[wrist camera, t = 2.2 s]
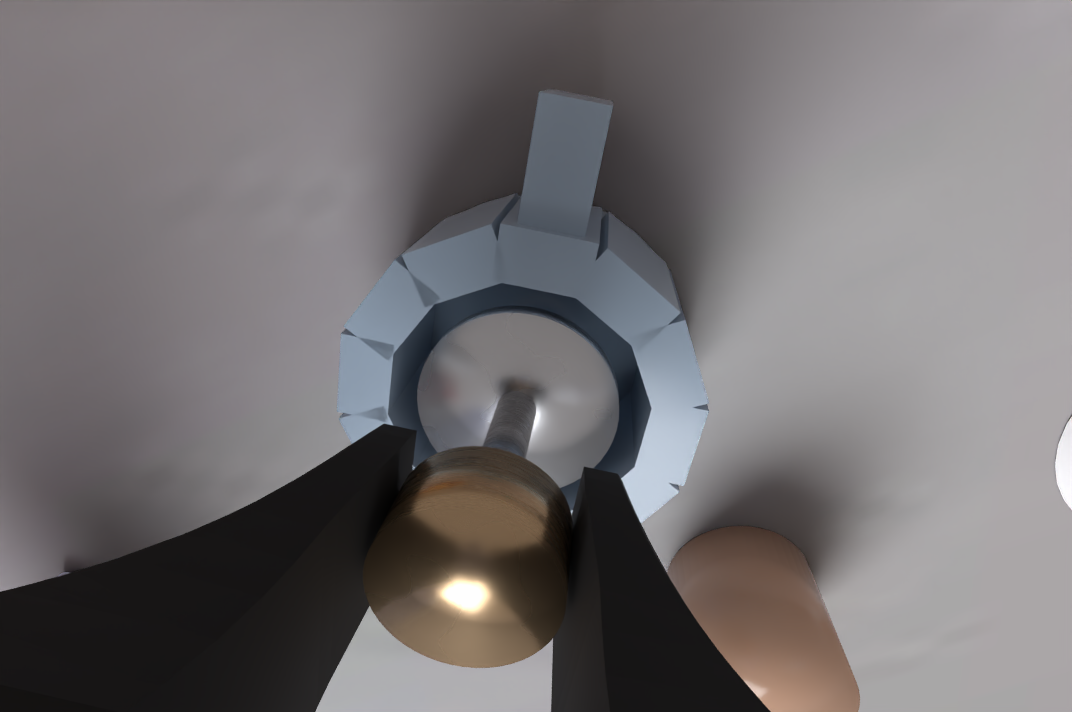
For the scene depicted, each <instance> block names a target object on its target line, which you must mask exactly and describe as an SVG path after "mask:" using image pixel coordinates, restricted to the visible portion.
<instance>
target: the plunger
mask: <svg viewBox="0 0 1072 712" xmlns="http://www.w3.org/2000/svg"><path fill="white" fill-rule="evenodd" d="M417 403H418V412H419V416H420V420H421V423H422V426H423V428H424V431H425V433H426V435H427V437H428V439H429V441H430V443H431V444H432V446H433V447H434V448H435V450H436V451H437V452H438V453H437V454H435V455H433V456H431V457H429V458H427V459H426V460H424V461H423V462H421V463H420V464H419V465H418V466H417V467H415V468H414V469H413V470H412V472H411V473H410V474H409V475H408V477H407V478H406V480H405V481H404V483H403V485H402V487H401V489H400V491H399V493H398V495H397V497H396V498H395V500H394V502H393V504H392V506H391V508H390V510H389V512H388V514H387V516H386V518H385V520H384V522H383V524H382V526H381V527H380V529H379V531H378V533H377V535H376V537H375V539H374V541H373V543H372V545H371V547H370V549H369V551H368V553H367V556H366V559H365V562H364V568H363V584H364V590H365V594H366V597H367V600H368V602H369V605H370V607H371V609H372V611H373V612H374V614H375V615H376V617H377V618H378V620H379V621H380V622H381V623H382V625H383V626H384V627H385V628H386V629H387V630H388V631H389V632H390V633H391V634H392V635H393V636H394V637H395V638H397V639H398V640H399V641H400V642H402V643H403V644H404V645H406V646H408V647H409V648H411V649H413V650H414V651H416V652H418V653H420V654H422V655H424V656H426V657H429V658H431V659H434V660H437V661H440V662H443V663H447V664H451V665H456V666H462V667H472V668H490V667H498V666H504V665H508V664H512V663H515V662H518V661H521V660H523V659H525V658H528V657H530V656H532V655H533V654H535V653H536V652H538V651H539V650H541V649H542V648H543V647H544V646H546V645H547V644H548V643H549V642H550V641H551V640H552V638H553V637H554V636H555V635H556V633H557V631H558V630H559V628H560V626H561V624H562V621H563V619H564V616H565V610H566V604H567V592H568V581H569V569H570V558H571V546H572V532H573V521H572V515H571V511H570V508H569V504H568V502H567V500H566V498H565V496H564V494H563V492H562V491H561V489H560V488H562V487H564V486H566V485H569V484H571V483H573V482H575V481H577V480H578V479H580V478H581V476H582V472H583V468H584V467H589V468H594V467H595V466H596V465H597V464H598V463H599V462H600V461H601V460H602V458H603V457H604V456H605V454H606V453H607V451H608V449H609V448H610V446H611V444H612V442H613V439H614V436H615V434H616V431H617V426H618V420H619V392H618V384H617V380H616V376H615V373H614V370H613V368H612V366H611V363H610V361H609V359H608V358H607V356H606V354H605V353H604V351H603V350H602V348H601V347H600V346H599V345H598V343H597V342H596V341H595V340H594V339H593V338H592V337H591V336H590V335H589V334H588V333H587V332H586V331H585V330H583V329H582V328H581V327H579V326H578V325H576V324H575V323H573V322H572V321H570V320H568V319H566V318H565V317H563V316H560V315H558V314H555V313H553V312H551V311H547V310H543V309H540V308H535V307H528V306H501V307H494V308H490V309H486V310H482V311H480V312H477V313H475V314H472V315H470V316H468V317H466V318H465V319H463V320H461V321H460V322H458V323H457V324H456V325H454V326H453V327H452V328H450V329H449V330H448V331H447V332H446V333H445V334H444V335H443V336H442V338H441V339H440V340H439V342H438V343H437V344H436V346H435V347H434V349H433V350H432V352H431V353H430V355H429V356H428V358H427V360H426V362H425V364H424V366H423V369H422V372H421V375H420V378H419V383H418V390H417Z"/></svg>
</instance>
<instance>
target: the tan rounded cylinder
mask: <svg viewBox="0 0 1072 712" xmlns="http://www.w3.org/2000/svg"><path fill="white" fill-rule="evenodd" d="M667 574H668V576H669V578H670V579H671V581H672V583H673V584H674V586H675V587H676V589H677V591H678V592H679V594H680V596H681V597H682V599H683V600H684V602H685V604H686V605H687V607H688V608H689V610H690V611H691V613H692V614H693V616H694V617H695V619H696V620H697V622H698V623H699V625H700V626H701V627H702V629H703V630H704V631H705V633H706V634H707V635H708V637H709V638H710V639H711V641H712V642H713V644H714V645H715V646H716V648H717V649H718V650H719V652H720V653H721V654H722V655H723V657H724V658H725V659H726V660H727V661H728V663H729V664H730V665H731V666H732V668H733V669H734V670H735V671H736V672H737V674H738V675H739V676H740V677H741V678H742V679H743V681H744V682H745V683H746V684H747V685H748V686H749V687H750V689H751V690H752V691H753V692H754V693H755V694H756V696H757V697H758V698H759V699H760V700H761V701H762V702H763V704H764V705H765V706H766V707H767V708H768V709H769V710H770V711H771V712H858V710H859V705H860V694H859V688H858V686H857V683H856V680H855V678H854V675H853V673H852V670H851V668H850V665H849V663H848V660H847V658H846V655H845V653H844V650H843V648H842V645H841V643H840V641H839V638H838V636H837V633H836V631H835V628H834V626H833V623H832V621H831V618H830V616H829V613H828V611H827V608H826V606H825V604H824V601H823V599H822V596H821V594H820V591H819V589H818V586H817V584H816V581H815V579H814V576H813V574H812V571H811V569H810V567H809V564H808V562H807V560H806V558H805V556H804V555H803V553H802V552H801V551H800V550H799V548H797V547H796V546H795V545H794V544H793V543H792V542H791V541H789V540H788V539H786V538H785V537H783V536H781V535H779V534H777V533H775V532H772V531H769V530H766V529H762V528H757V527H751V526H730V527H723V528H718V529H715V530H711V531H708V532H706V533H703V534H701V535H699V536H697V537H695V538H694V539H692V540H691V541H689V542H688V543H686V544H685V545H684V546H683V547H682V548H681V549H680V550H679V551H678V552H677V554H676V555H675V556H674V558H673V559H672V561H671V563H670V566H669V568H668V572H667Z"/></svg>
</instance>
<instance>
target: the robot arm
mask: <svg viewBox="0 0 1072 712" xmlns="http://www.w3.org/2000/svg"><path fill="white" fill-rule="evenodd" d="M416 434H417V430H412V429H407V428H403V427H398V426H393V425H389V424H382V425H381V426H379V427H377V428H376V429H374V430H373V431H371V432H369V433H368V434H366V435H365V436H363V437H362V438H360V439H359V440H357V441H356V442H354V443H353V444H351V445H350V446H348V447H347V448H345V449H344V450H342V451H340V452H339V453H337V454H336V455H334V456H333V457H331V458H330V459H328V460H326V461H325V462H323V463H322V464H320V465H318V466H317V467H315V468H314V469H312V470H310V471H309V472H307V473H305V474H304V475H302V476H301V477H299V478H297V479H296V480H294V481H292V482H290V483H288V484H286V485H285V486H283V487H281V488H279V489H277V490H276V491H274V492H272V493H270V494H268V495H267V496H265V497H263V498H261V499H259V500H258V501H256V502H254V503H252V504H250V505H248V506H246V507H244V508H242V509H239V510H237V511H235V512H233V513H231V514H229V515H227V516H225V517H222V518H220V519H218V520H215V521H213V522H211V523H209V524H206V525H204V526H202V527H200V528H197V529H195V530H193V531H190V532H188V533H185V534H183V535H180V536H177V537H175V538H172V539H169V540H166V541H164V542H161V543H158V544H156V545H153V546H150V547H147V548H145V549H142V550H139V551H137V552H134V553H131V554H128V555H126V556H123V557H120V558H117V559H114V560H111V561H108V562H105V563H102V564H98V565H95V566H92V567H89V568H85V569H82V570H79V571H76V572H72V573H70V572H63V573H60V574H59V575H58V576H57V577H55V578H51V579H47V580H44V581H40V582H37V583H33V584H29V585H25V586H22V587H18V588H14V589H10V590H6V591H2V592H0V712H315V711H316V709H317V706H318V704H319V702H320V700H321V698H322V696H323V694H324V692H325V690H326V688H327V686H328V683H329V681H330V679H331V678H332V676H333V674H334V672H335V670H336V668H337V666H338V664H339V662H340V661H341V659H342V657H343V655H344V653H345V651H346V649H347V647H348V645H349V643H350V642H351V640H352V638H353V636H354V634H355V632H356V630H357V628H358V626H359V625H360V623H361V621H362V619H363V617H364V615H365V613H366V611H367V609H368V607H369V606H370V605H369V602H368V600H367V597H366V594H365V590H364V584H363V568H364V562H365V559H366V556H367V553H368V551H369V549H370V547H371V545H372V543H373V541H374V539H375V537H376V535H377V533H378V531H379V529H380V527H381V526H382V524H383V522H384V520H385V518H386V516H387V514H388V512H389V510H390V508H391V506H392V504H393V502H394V500H395V498H396V497H397V495H398V493H399V491H400V489H401V487H402V485H403V483H404V481H405V480H406V478H407V477H408V475H409V474H410V473H411V472H412V468H413V460H414V451H415V442H416ZM572 521H573V532H572V546H571V558H570V569H569V581H568V592H567V604H566V610H565V616H564V619H563V621H562V624H561V626H560V628H559V630H558V631H557V633H556V635H555V636H554V637H553V667H552V704H551V712H771V711H770V710H769V709H768V708H767V707H766V706H765V705H764V704H763V702H762V701H761V700H760V699H759V698H758V697H757V696H756V694H755V693H754V692H753V691H752V690H751V689H750V687H749V686H748V685H747V684H746V683H745V682H744V681H743V679H742V678H741V677H740V676H739V675H738V674H737V672H736V671H735V670H734V669H733V668H732V666H731V665H730V664H729V663H728V661H727V660H726V659H725V658H724V657H723V655H722V654H721V653H720V652H719V650H718V649H717V648H716V646H715V645H714V644H713V642H712V641H711V639H710V638H709V637H708V635H707V634H706V633H705V631H704V630H703V629H702V627H701V626H700V625H699V623H698V622H697V620H696V619H695V617H694V616H693V614H692V613H691V611H690V610H689V608H688V607H687V605H686V604H685V602H684V600H683V599H682V597H681V596H680V594H679V592H678V591H677V589H676V587H675V586H674V584H673V583H672V581H671V579H670V578H669V576H668V574H667V572H666V571H665V569H664V567H663V565H662V564H661V562H660V560H659V558H658V556H657V554H656V552H655V550H654V548H653V547H652V545H651V543H650V541H649V539H648V537H647V535H646V533H645V531H644V529H643V527H642V525H641V523H640V521H639V519H638V516H637V514H636V512H635V510H634V508H633V505H632V503H631V501H630V499H629V496H628V494H627V491H626V489H625V486H624V484H623V481H622V479H621V478H620V476H619V475H618V474H617V473H612V472H608V471H603V470H598V469H594V468H589V467H584V468H583V472H582V476H581V480H580V484H579V488H578V492H577V496H576V500H575V504H574V508H573V512H572Z"/></svg>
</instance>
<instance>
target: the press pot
mask: <svg viewBox="0 0 1072 712" xmlns="http://www.w3.org/2000/svg"><path fill="white" fill-rule="evenodd" d="M612 109H613V101H611V100H606V99H601V98H596V97H591V96H586V95H581V94H576V93H571V92H566V91H561V90H556V89H550V90H544V91H539V95H538V101H537V107H536V113H535V119H534V125H533V131H532V137H531V143H530V149H529V155H528V161H527V167H526V173H525V179H524V185H523V191H522V195H518V193H515V194H512V195H509V196H506V197H502V198H499V199H495V200H491V201H488V202H484V203H482V204H479V205H477V206H475V207H473V208H470V209H468V210H466V211H464V212H461V213H458V214H455V215H452V216H450V217H447V218H445V219H444V220H443V221H441V222H440V223H438V224H437V225H436V226H435V227H434V228H432V229H431V230H430V231H429V232H427V233H426V234H425V235H424V236H423V237H421V238H420V239H419V240H418V241H417V242H415V243H414V244H413V245H412V246H411V247H409V248H408V249H407V250H406V251H405V252H403V253H402V254H401V255H400V256H399V257H397V258H396V259H395V260H394V261H393V263H392V264H391V265H390V267H389V268H388V269H387V270H386V272H385V273H384V274H383V276H382V277H381V278H380V280H379V281H378V282H377V284H376V285H375V286H374V287H373V289H372V290H371V291H370V293H369V294H368V295H367V297H366V298H365V299H364V300H363V302H362V303H361V304H360V306H359V307H358V308H357V310H356V311H355V312H354V314H353V315H352V316H351V317H350V319H349V320H348V321H347V323H346V324H345V325H344V327H345V328H346V329H345V330H344V331H343V332H342V333H341V344H340V363H339V382H338V401H337V412H341V413H343V414H342V415H341V416H340V418H339V420H340V422H341V424H342V426H343V428H344V430H345V432H346V434H347V436H348V437H349V439H350V441H351V443H352V444H353V443H354V442H356V441H357V440H359V439H360V438H362V437H363V436H365V435H366V434H368V433H369V432H371V431H373V430H374V429H376V428H377V427H379V426H381V425H382V424H389V425H393V426H398V427H403V428H407V429H412V430H417V434H416V442H415V451H414V460H413V468H412V470H413V469H414V468H415V467H417V466H418V465H419V464H420V463H421V462H423V461H424V460H426V459H427V458H429V457H431V456H433V455H435V454H437V453H438V452H437V451H436V450H435V448H434V447H433V446H432V444H431V443H430V441H429V439H428V437H427V435H426V433H425V431H424V428H423V426H422V423H421V420H420V416H419V412H418V403H417V390H418V383H419V378H420V375H421V372H422V369H423V366H424V364H425V362H426V360H427V358H428V356H429V355H430V353H431V352H432V350H433V349H434V347H435V346H436V344H437V343H438V342H439V340H440V339H441V338H442V336H443V335H444V334H445V333H446V332H447V331H448V330H449V329H450V328H452V327H453V326H454V325H456V324H457V323H458V322H460V321H461V320H463V319H465V318H466V317H468V316H470V315H472V314H475V313H477V312H480V311H482V310H486V309H490V308H494V307H501V306H528V307H535V308H540V309H543V310H547V311H551V312H553V313H555V314H558V315H560V316H563V317H565V318H566V319H568V320H570V321H572V322H573V323H575V324H576V325H578V326H579V327H581V328H582V329H583V330H585V331H586V332H587V333H588V334H589V335H590V336H591V337H592V338H593V339H594V340H595V341H596V342H597V343H598V345H599V346H600V347H601V348H602V350H603V351H604V353H605V354H606V356H607V358H608V359H609V361H610V363H611V366H612V368H613V370H614V373H615V376H616V380H617V384H618V392H619V420H618V426H617V431H616V434H615V436H614V439H613V442H612V444H611V446H610V448H609V449H608V451H607V453H606V454H605V456H604V457H603V458H602V460H601V461H600V462H599V463H598V464H597V465H596V466H595V467H594V469H598V470H603V471H608V472H612V473H617V474H618V475H619V476H620V478H621V479H622V481H623V484H624V486H625V489H626V491H627V494H628V496H629V499H630V501H631V503H632V505H633V508H634V510H635V512H636V514H637V516H638V519H639V521H640V523H642V522H643V521H644V520H646V519H647V518H648V517H649V516H651V515H652V514H653V513H654V512H655V511H657V510H658V509H659V508H660V507H662V506H663V505H664V504H665V503H666V502H668V501H669V500H670V499H671V498H673V497H674V496H675V495H676V494H678V493H679V486H678V485H682V486H684V484H685V481H686V478H687V475H688V472H689V469H690V466H691V463H692V460H693V457H694V454H695V451H696V448H697V445H698V442H699V439H700V436H701V433H702V430H703V427H704V424H705V422H706V419H707V416H708V413H709V410H708V406H707V404H709V401H708V397H707V394H706V390H705V387H704V383H703V380H702V376H701V373H700V369H699V366H698V362H697V359H696V355H695V352H694V348H693V345H692V341H691V338H690V334H689V331H688V327H687V324H686V320H685V317H684V314H683V310H682V307H681V304H680V300H679V297H678V294H677V290H676V287H675V284H674V281H673V277H672V274H671V271H670V269H668V267H667V264H666V262H665V261H664V260H662V259H661V258H660V257H659V256H658V255H657V254H656V253H655V252H654V251H653V250H652V249H651V247H650V246H649V245H648V244H647V243H646V242H645V241H644V240H643V239H642V238H641V237H640V236H639V235H638V234H637V233H636V232H634V231H633V230H632V229H631V228H629V227H628V226H627V225H626V224H624V223H623V222H622V221H620V220H618V219H617V218H616V217H615V216H614V215H613V214H612V213H610V212H608V213H607V212H605V211H603V210H602V208H601V207H596V206H592V203H593V198H594V193H595V188H596V184H597V179H598V174H599V170H600V165H601V160H602V156H603V151H604V146H605V142H606V137H607V132H608V128H609V123H610V118H611V114H612ZM580 480H581V478H580V479H578V480H577V481H575V482H573V483H571V484H569V485H566V486H564V487H562V488H560V489H561V491H562V492H563V494H564V496H565V498H566V500H567V502H568V504H569V508H570V511H571V515H572V512H573V508H574V504H575V500H576V496H577V492H578V488H579V484H580Z"/></svg>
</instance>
